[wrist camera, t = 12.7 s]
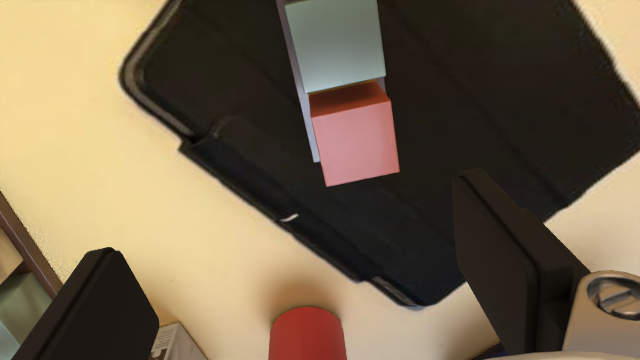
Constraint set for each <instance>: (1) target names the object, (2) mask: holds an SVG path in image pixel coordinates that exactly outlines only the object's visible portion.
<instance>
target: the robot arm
mask: <svg viewBox="0 0 640 360" xmlns="http://www.w3.org/2000/svg"><path fill="white" fill-rule="evenodd" d="M452 193H453V211H454V229H455V247H456V259H457V263H458V265H459V268H460V270H461V272H462V273H463V275H464V277H465V279H466V280H467V282H468V284H469V286H470V288H471V289H472V291H473V293H474V295H475V296H476V298H477V300H478V302H479V304H480V305H481V307H482V309H483V311H484V312H485V314H486V316H487V318H488V319H489V321H490V323H491V325H492V327H493V328H494V330H495V332H496V334H497V335H498V337H499V339H500V341H501V343H502V344H503V346H504V348H505V350H506V351H507V353H508V355H509V356H506V357H498V358H492V359H486V360H640V277H639V276H636V275H633V274H629V273H626V272H620V271H612V270H609V271H597V272H593V273H591V272H590V271H589V270H588V269H587V268H586V267H585V266H584V265H583V264H582V263H581V262H580V261H579V260H578V259H577V258H576V256H575V255H574V254H573V253H572V252H571V251H570V250H569V249H568V248H567V247H566V246H565V245H564V244H563V243H562V242H561V241H560V240H559V239H558V238H557V237H556V236H555V235H554V234H553V233H552V232H551V231H550V230H549V229H548V228H547V227H546V226H545V225H544V224H543V223H542V222H541V221H540V220H539V219H538V218H537V217H536V216H535V215H534V214H533V213H532V212H531V211H530V210H528V209H526V208H520V207H519V206H518V205H517V204H516V203H515V202H514V201H513V200H512V199H511V198H510V197H509V196H508V195H507V194H506V193H505V192H504V191H503V190H502V189H501V187H500V186H499V185H498V184H497V183H496V182H495V181H494V180H493V179H492V178H491V177H490V176H489V175H488V174H487V173H486V172H485V171H484V170H483V169H482V168H476V169H472V170H467V171H462V172H459V174H458V178H455V179H453V180H452ZM158 331H159V319H158V317H157V315H156V313H155V311H154V309H153V308H152V306H151V304H150V302H149V301H148V299H147V297H146V295H145V294H144V292H143V290H142V288H141V286H140V285H139V283H138V281H137V279H136V278H135V276H134V274H133V272H132V271H131V269H130V267H129V265H128V263H127V262H126V260H125V258H124V256H123V255H122V253H121V252H120V251H115V250H114V249H113V248H111V247H107V248H102V249H97V250H93V251H89V252H87V253H86V254H85V255H84V257H83V258H82V260H81V261H80V263H79V264H78V265H77V267H76V268H75V270H74V271H73V272H72V274H71V275H70V277H69V278H68V280H67V281H66V282H65V284H64V285H63V287H62V288H61V289H60V291H59V292H58V294H57V295H56V296H55V298H54V299H53V301H52V302H51V304H50V305H49V306H48V308H47V309H46V311H45V312H44V313H43V315H42V316H41V318H40V319H39V321H38V322H37V323H36V325H35V326H34V328H33V329H32V330H31V332H30V333H29V335H28V336H27V337H26V339H25V340H24V342H23V343H22V345H21V346H20V347H19V349H18V350H17V352H16V353H15V354H14V356H13V357H12V359H11V360H148V359H149V356H150V353H151V350H152V348H153V345H154V342H155V339H156V337H157V334H158Z"/></svg>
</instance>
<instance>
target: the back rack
mask: <svg viewBox="0 0 640 360" xmlns="http://www.w3.org/2000/svg"><path fill="white" fill-rule="evenodd" d="M62 287H63V285H62V283H61V282H60V280H59V279H58V277H57V276H56V274H55V273H54V271H53V270H52V268H51V267H50V265H49V264H48V262H47V261H46V259H45V258H44V256H43V255H42V253H41V252H40V250H39V249H38V248H37V246H36V245H35V243H34V242H33V240H32V239H31V237H30V236H29V234H28V233H27V231H26V230H25V228H24V227H23V225H22V224H21V222H20V221H19V219H18V218H17V216H16V215H15V213H14V212H13V210H12V209H11V207H10V206H9V204H8V203H7V201H6V200H5V198H4V197H3V195H2V194H1V192H0V360H11V359H12V357H13V356H14V354H15V353H16V352H17V350H18V349H19V347H20V346H21V345H22V343H23V342H24V340H25V339H26V337H27V336H28V335H29V333H30V332H31V330H32V329H33V328H34V326H35V325H36V323H37V322H38V321H39V319H40V318H41V316H42V315H43V313H44V312H45V311H46V309H47V308H48V306H49V305H50V304H51V302H52V301H53V299H54V298H55V296H56V295H57V294H58V292H59V291H60V289H61V288H62Z"/></svg>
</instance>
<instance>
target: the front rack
mask: <svg viewBox="0 0 640 360" xmlns="http://www.w3.org/2000/svg"><path fill="white" fill-rule="evenodd" d="M276 4H277V9H278V13H279V17H280V21H281V26H282V30H283V34H284V38H285V43H286V47H287V51H288V55H289V60H290V64H291V68H292V72H293V76H294V81H295V85H296V89H297V93H298V98H299V102H300V106H301V110H302V115H303V119H304V123H305V127H306V132H307V136H308V140H309V144H310V149H311V153H312V157H313V161H314V163H315V162H320V156H319V152H318V148H317V143H316V139H315V134H314V130H313V125H312V121H311V115H310V105H309V95H313V94H318V93H322V92H327V91H332V90H336V89H341V88H345V87H350V86H355V85H359V84H364V83H368V82H373V81H376V82H377V83H378V84H379V86H380V87H381V88H382V90H383V91H384V92H385V94H386V88H385V81H384V76H386V71H385V63H384V55H383V47H382V39H381V31H380V23H379V16H378V8H377V0H276Z"/></svg>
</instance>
